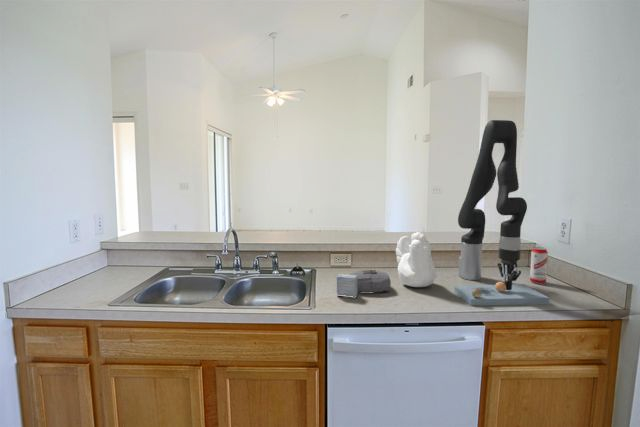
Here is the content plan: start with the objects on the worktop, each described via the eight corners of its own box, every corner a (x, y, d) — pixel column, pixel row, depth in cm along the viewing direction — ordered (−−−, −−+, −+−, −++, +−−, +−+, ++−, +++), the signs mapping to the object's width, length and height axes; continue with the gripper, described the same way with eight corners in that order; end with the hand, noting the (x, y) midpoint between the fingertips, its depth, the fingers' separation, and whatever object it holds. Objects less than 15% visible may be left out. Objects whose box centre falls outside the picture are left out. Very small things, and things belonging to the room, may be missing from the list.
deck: (524, 290, 146) (524, 284, 146) (549, 304, 130) (549, 297, 130) (454, 291, 146) (454, 285, 146) (470, 305, 130) (470, 299, 130)
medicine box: (357, 295, 144) (357, 275, 143) (355, 298, 139) (355, 278, 138) (339, 293, 146) (339, 273, 145) (336, 296, 142) (336, 276, 141)
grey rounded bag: (385, 283, 159) (342, 284, 158) (385, 265, 158) (342, 267, 157) (393, 294, 144) (346, 295, 143) (393, 275, 143) (346, 276, 142)
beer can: (548, 285, 152) (550, 249, 150) (533, 284, 153) (535, 249, 151) (542, 280, 158) (544, 246, 156) (527, 280, 159) (529, 246, 157)
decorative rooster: (442, 290, 147) (443, 234, 144) (407, 292, 145) (407, 235, 142) (419, 274, 172) (420, 225, 169) (389, 275, 170) (389, 226, 167)
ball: (507, 284, 138) (502, 292, 139) (496, 279, 140) (492, 288, 140) (508, 285, 135) (504, 294, 135) (498, 280, 136) (494, 289, 136)
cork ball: (469, 296, 132) (469, 288, 132) (475, 295, 134) (476, 286, 133) (477, 299, 129) (477, 290, 129) (483, 298, 131) (484, 289, 130)
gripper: (491, 244, 142) (490, 284, 144) (509, 251, 129) (508, 295, 131) (509, 243, 142) (507, 284, 144) (529, 250, 129) (527, 294, 131)
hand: (507, 289), depth 138 cm, fingers closed
